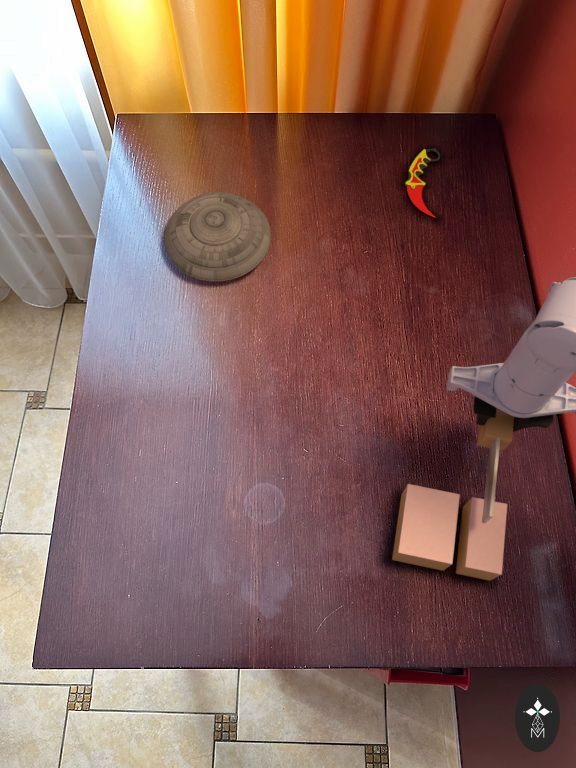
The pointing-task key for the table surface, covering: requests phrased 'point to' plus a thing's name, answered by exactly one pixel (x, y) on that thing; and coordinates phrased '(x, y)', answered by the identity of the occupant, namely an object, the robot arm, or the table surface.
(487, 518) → the chisel
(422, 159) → the knife
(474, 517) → the light tan rectangular block
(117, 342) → the table surface
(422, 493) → the pink rectangular block
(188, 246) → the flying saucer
